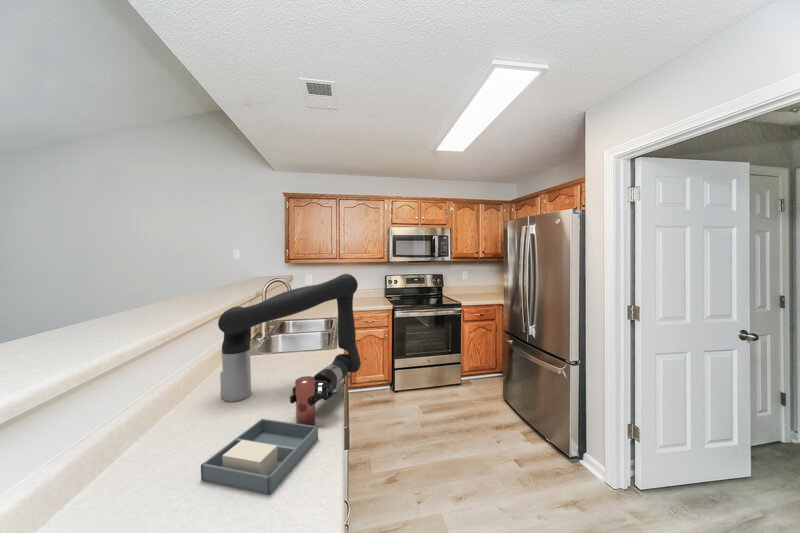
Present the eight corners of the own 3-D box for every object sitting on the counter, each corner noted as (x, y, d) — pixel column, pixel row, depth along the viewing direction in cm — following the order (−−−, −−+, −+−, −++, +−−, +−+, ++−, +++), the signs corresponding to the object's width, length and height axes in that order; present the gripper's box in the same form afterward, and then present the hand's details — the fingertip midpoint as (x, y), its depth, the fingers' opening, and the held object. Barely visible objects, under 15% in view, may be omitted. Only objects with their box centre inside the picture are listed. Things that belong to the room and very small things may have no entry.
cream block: (222, 476, 69) (222, 455, 68) (242, 459, 74) (242, 439, 74) (260, 484, 66) (259, 462, 66) (277, 465, 72) (277, 445, 72)
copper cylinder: (292, 429, 89) (291, 382, 89) (303, 419, 95) (302, 375, 94) (309, 431, 88) (308, 384, 88) (319, 421, 93) (318, 377, 93)
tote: (201, 484, 68) (200, 465, 68) (262, 433, 87) (261, 418, 87) (270, 499, 63) (269, 478, 63) (318, 442, 83) (317, 426, 83)
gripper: (309, 366, 107) (279, 386, 90) (346, 370, 103) (322, 391, 87) (309, 387, 107) (279, 411, 91) (347, 391, 103) (323, 416, 87)
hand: (300, 401), depth 89 cm, fingers open, 5 cm apart
